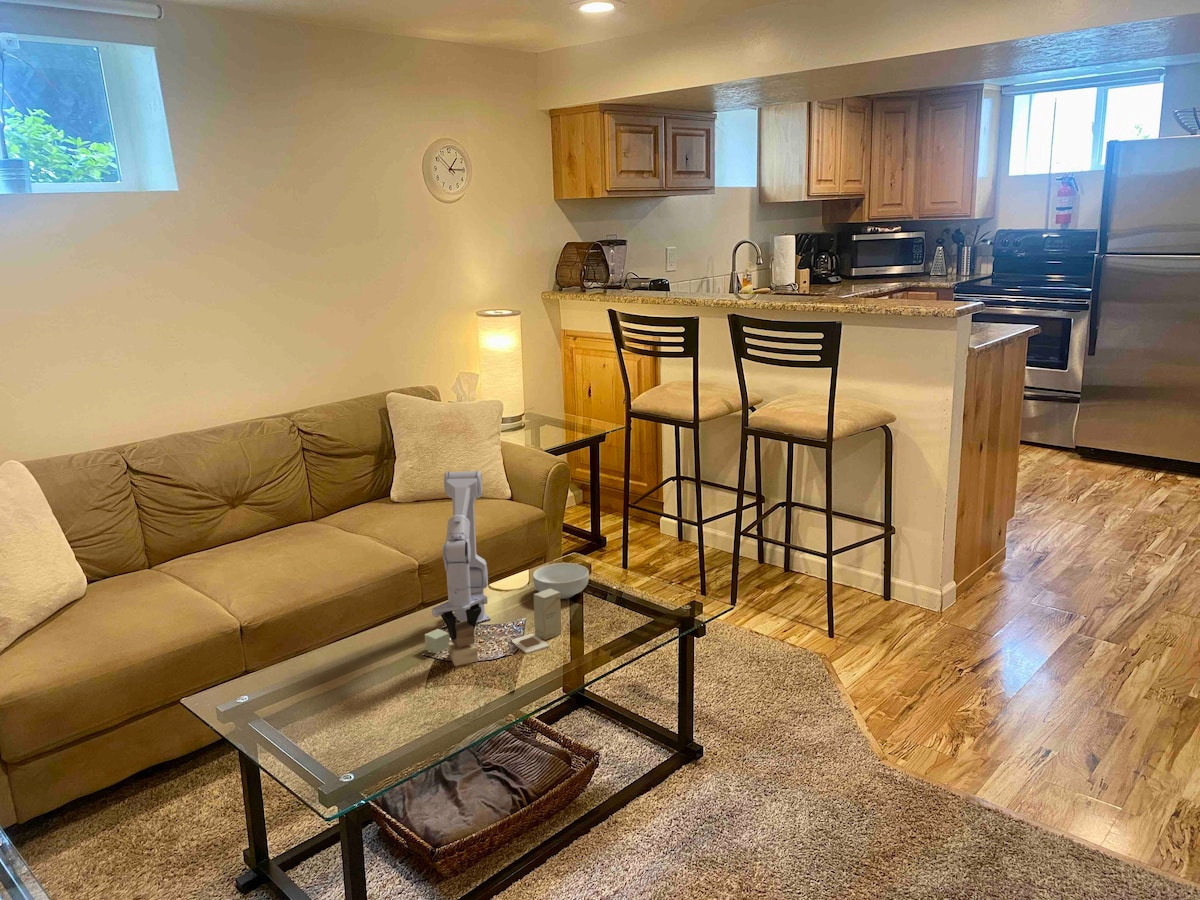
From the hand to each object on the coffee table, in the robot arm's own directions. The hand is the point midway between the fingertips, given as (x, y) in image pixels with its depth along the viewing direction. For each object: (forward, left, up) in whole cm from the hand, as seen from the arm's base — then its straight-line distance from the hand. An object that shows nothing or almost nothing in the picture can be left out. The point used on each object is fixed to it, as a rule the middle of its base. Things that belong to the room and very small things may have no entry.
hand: (461, 635), depth 227 cm
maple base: (0, 0, -7) cm, 7 cm away
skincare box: (+1, +25, -7) cm, 26 cm away
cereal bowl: (-21, +43, -7) cm, 48 cm away
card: (+3, +18, -6) cm, 19 cm away
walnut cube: (0, 0, -2) cm, 2 cm away
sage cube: (-9, -3, -6) cm, 12 cm away
